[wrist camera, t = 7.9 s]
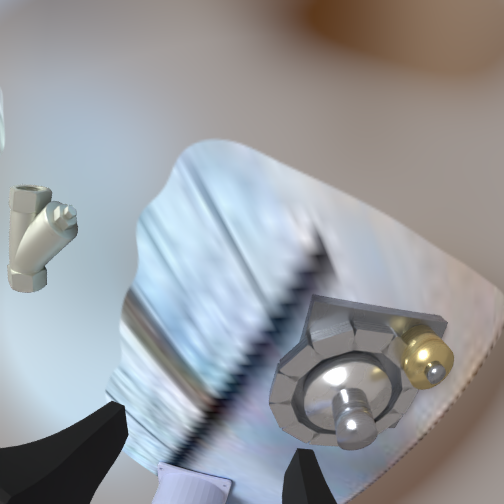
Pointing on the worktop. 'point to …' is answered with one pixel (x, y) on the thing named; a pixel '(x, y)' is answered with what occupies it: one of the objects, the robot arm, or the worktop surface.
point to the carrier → (365, 342)
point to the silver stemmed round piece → (348, 398)
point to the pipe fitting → (36, 235)
